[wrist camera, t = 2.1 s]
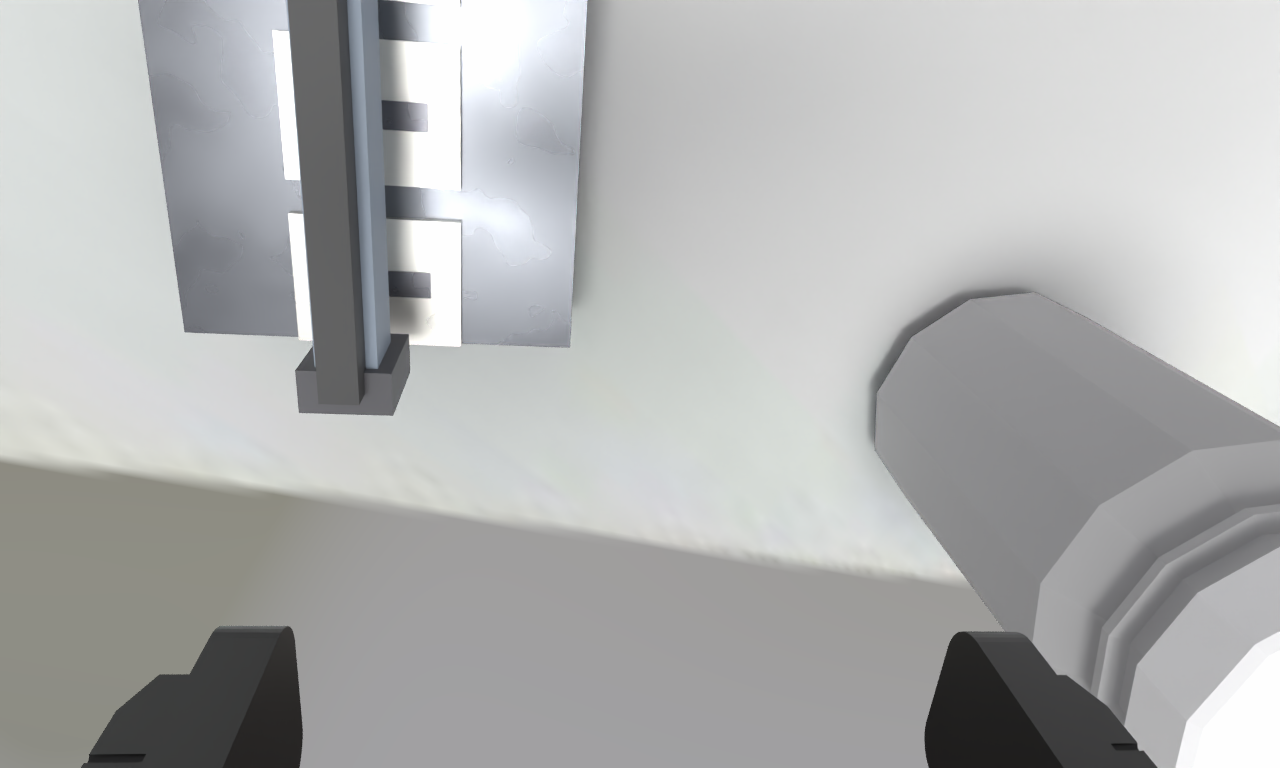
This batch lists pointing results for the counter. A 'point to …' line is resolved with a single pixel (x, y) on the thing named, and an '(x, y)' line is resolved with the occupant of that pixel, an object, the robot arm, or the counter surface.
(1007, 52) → the counter surface
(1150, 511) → the jar
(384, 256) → the bar
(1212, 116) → the counter surface
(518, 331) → the grey block
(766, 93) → the counter surface
